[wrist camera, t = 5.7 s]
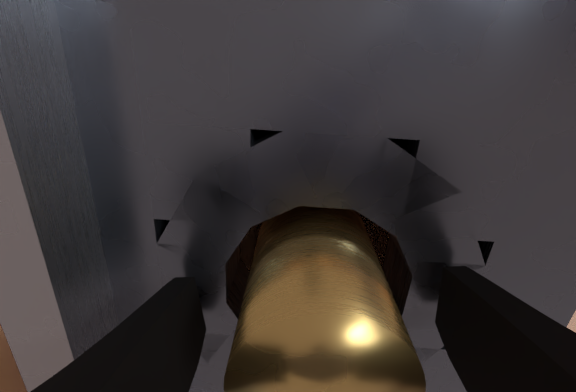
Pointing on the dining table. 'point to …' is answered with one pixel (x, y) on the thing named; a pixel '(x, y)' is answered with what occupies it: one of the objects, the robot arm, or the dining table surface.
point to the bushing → (319, 312)
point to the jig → (277, 155)
